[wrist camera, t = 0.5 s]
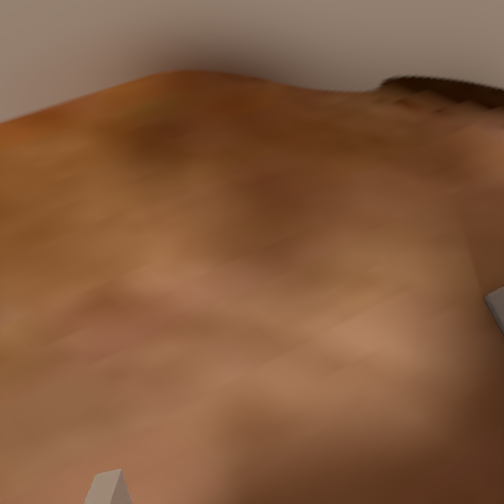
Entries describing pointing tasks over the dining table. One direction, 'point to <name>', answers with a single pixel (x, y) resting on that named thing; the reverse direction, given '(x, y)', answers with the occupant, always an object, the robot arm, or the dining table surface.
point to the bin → (496, 306)
